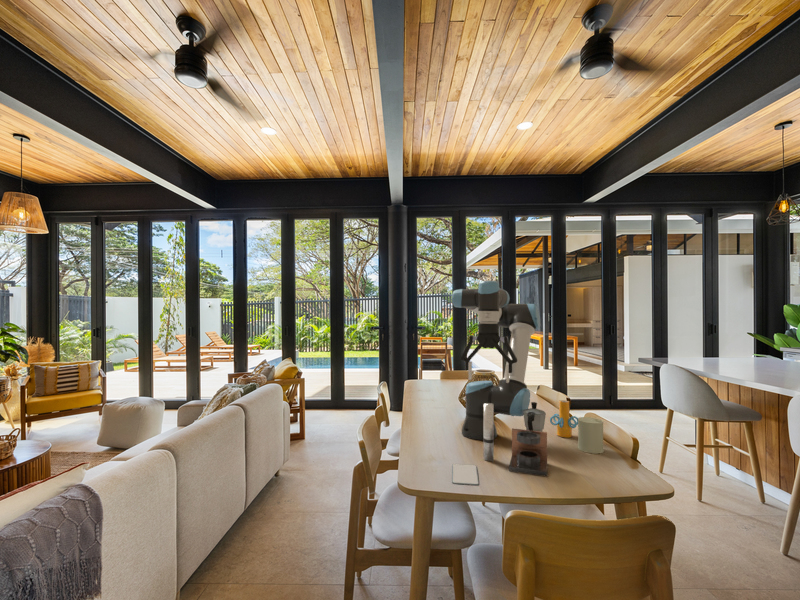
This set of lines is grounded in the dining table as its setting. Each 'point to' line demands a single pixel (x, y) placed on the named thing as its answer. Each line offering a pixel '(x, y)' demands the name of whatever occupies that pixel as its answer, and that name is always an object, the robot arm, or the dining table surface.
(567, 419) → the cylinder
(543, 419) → the coffee maker
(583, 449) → the can
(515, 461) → the collar stand
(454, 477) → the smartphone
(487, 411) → the silver metal tube
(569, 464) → the dining table surface
